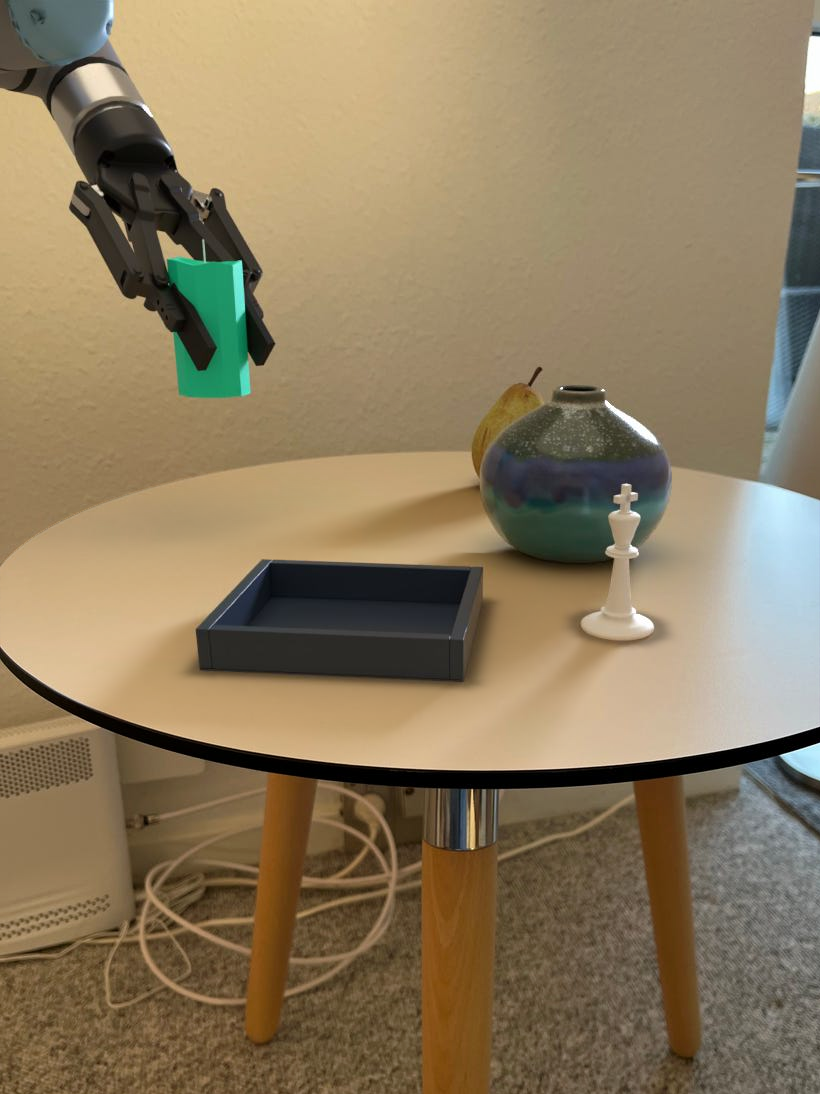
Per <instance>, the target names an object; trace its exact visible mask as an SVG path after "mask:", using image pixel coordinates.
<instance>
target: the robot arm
mask: <svg viewBox="0 0 820 1094" xmlns="http://www.w3.org/2000/svg"><path fill="white" fill-rule="evenodd" d="M114 4H115V3H114V0H0V89H3V90H6V91H8V92H13V93H19V94H23V95H28V96H32V97H36V98H39V99H41V100H42V102H43V104H44V106H45V107H46V109H47V111H48V112H49V114H50V116H51V118H52V120H53V121H54V122H55V124H56V126H57V128H58V130H59V131H60V133H61V135H62V137H63V138H64V141H65V143H66V144H67V146H68V148H69V149H70V151H71V153H72V156H73V157H74V158H75V161H76V164H77V165H78V167H79V169H80V171H81V172H82V174H83V176H84V178H85V179H86V181H84V180H77V181H76V182H75V185H74V188H73V191H72V195H71V198H70V202H69V204H68V205H69V206H68V209H69V211H70V212H71V213H72V214H73V216H75V217H76V219H78V221H79V222H80V223H82V225H83V226H84V227H85V228H86V229H87V232H88V233H89V236H90V237H91V239H92V240H93V242H94V243H93V244H95V246H96V248H97V250H98V252H99V254H100V256H101V257H102V259H103V261H104V263H105V265H106V267H107V269H108V270H109V272H110V274H111V276H112V278H113V279H114V282H115V284H116V285H117V287H118V289H119V291H120V292H121V294H122V295H123V297H125V298H126V299H129V300H134V299H135V300H136V298H137V297H140V298H145V299H144V302H143V307H144V308H145V309H146V310H148V311H149V312H157V314H158V316H159V317H160V319H161V321H162V323H163V324H164V328H166V329H167V330H168V331H169V332H170V333H173V332H177V334H178V336H179V338H180V340H181V341H182V343H183V345H184V347H185V349H186V350H187V352H188V354H189V356H190V358H191V360H192V361H193V363H194V365H195V367H196V369H197V370H198V371H204V370H207V368H208V365H209V363H210V361H211V359H212V357H213V355H214V353H215V351H216V349H217V346H216V344H215V343H214V341H213V339H212V337H211V335H210V334H209V332H208V330H207V328H206V326H205V325H204V323H203V321H202V319H201V317H200V316H199V314H198V312H197V310H196V308H195V307H194V305H193V304H192V303H191V302H190V301H189V300H188V299H187V298H186V297H185V296H184V295H183V294H182V293H181V292H180V291H179V290H178V288H177V286H176V284H175V283H172V285H171V288H170V286H169V281H170V280H169V275H168V269H167V263H166V261H165V257H164V254H163V249H162V245H161V242H160V238H159V235H158V232H162V233H165V234H166V235H167V236H168V237H169V239H170V240H171V241H172V243H174V244H175V245H176V246H179V245H180V246H182V248H183V249H184V250H185V251H186V252H187V253H188V255H189V256H190V257H191V259H192V260H198V261H204V256H203V243H202V239H204V245H205V258H206V262H213V261H214V262H227V261H238V260H242V269H243V285H244V300H245V316H246V331H247V346H248V356H250V358H251V360H252V362H253V363H254V365H255V367H263V366H265V364H266V362H267V360H268V358H269V357H270V355H271V353H272V351H273V350H274V347H275V345H276V342H275V340H274V338H273V336H272V335H271V333H270V331H269V330H268V328H267V326H266V324H265V322H264V320H263V319H264V317H265V314H264V311H263V308H262V307H261V305H260V303H259V301H258V299H257V298H256V296H255V294H254V293H255V291H256V289H257V287H258V285H259V283H260V281H261V279H262V277H263V274H264V272H263V269H262V267H261V266H260V264H259V262H258V260H257V259H256V257H255V255H254V253H253V252H252V249H251V248H250V246H249V244H248V243H247V241H246V240H245V238H244V236H243V235H242V233H241V231H240V229H239V228H238V226H237V224H236V223H235V221H234V219H233V217H232V216H231V214H230V212H229V210H228V209H227V203H226V198H225V197H226V196H225V194H224V192H223V191H222V190H221V189H220V188H216V187H212V188H211V189H210V191H209V194H208V193H204V192H201V191H198V190H195V189H193V187H192V185H191V183H190V182H189V181H188V180H187V179H186V178H185V177H184V176H182V175H181V173H180V172H179V170H178V167H177V163H176V159H175V155H174V152H173V149H172V147H171V145H170V144H169V142H168V140H167V138H166V137H165V135H164V133H163V131H162V130H161V128H160V127H159V125H158V123H157V121H156V119H154V116H153V113H152V112H151V110H150V109H149V107H148V105H147V103H146V102H145V100H144V98H143V96H142V95H141V93H140V92H139V90H138V88H137V87H136V84H135V83H134V81H133V80H132V78H131V77H130V75H129V74H128V72H127V70H126V68H125V67H124V65H123V63H122V62H121V61H122V60H121V59H120V58H119V56H118V54H117V52H116V50H115V48H114V47H113V45H112V43H111V41H110V39H109V37H110V36H111V33H112V32H111V31H112V28H113V26H114V20H115V19H114V17H115V5H114ZM115 215H116V216H117V217H118V218H120V219H121V222H123V225H124V229H125V233H126V234H125V233H124V231H123V230H122V227H121V225H120V224H119V222H118V220H117V218H116V217H115ZM131 245H132V246H131Z"/></svg>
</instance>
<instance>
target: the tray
mask: <svg viewBox="0 0 820 1094" xmlns="http://www.w3.org/2000/svg"><path fill="white" fill-rule="evenodd" d="M483 603H484V567H483V566H468V565H467V566H466V565H465V566H463V565H442V564H441V565H438V564H436V565H435V564H411V563H410V564H409V563H408V564H407V563H384V562H383V563H382V562H378V563H377V562H355V561H354V562H352V561H351V562H350V561H326V560H296V559H268V558H265V559H264V558H262V559H261V560H260V561H259V562H258V563H257V564H256V565H255V566H254V567H253V568H252V569H251V570H250V571H249V572H248V573H247V574H246V576H244V577H243V578H242V580H241V581H240V582H238V584H237V585H236V586H234V588H233V589H232V590H231V591H230V592H229V593H228V594H227V595H226V596H225V597H224V598H223V599H222V600H221V601H220V603H218V605H217V606H216V607H215V608H214V609H213V610H212V611H211V612H210V613H209V614H208V615H207V616H206V617H205V618H204V619H203V621H201V623H200V624H199V625H198V626H197V627H196V628H195V638H196V647H197V648H196V649H197V657H198V668H199V671H205V672H207V671H208V672H211V671H212V672H226V673H227V672H229V673H230V672H232V673H250V674H251V673H252V674H253V673H254V674H272V675H273V674H277V675H298V676H300V675H301V676H320V677H321V676H322V677H324V676H325V677H342V678H343V677H344V678H347V677H348V678H365V679H388V680H389V679H390V680H411V681H430V682H431V681H432V682H435V681H436V682H455V683H463V682H464V681H465V677H466V673H467V669H468V664H469V660H470V656H471V652H472V648H473V644H474V640H475V636H476V632H477V627H478V624H479V619H480V615H481V611H482V607H483Z"/></svg>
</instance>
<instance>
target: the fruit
mask: <svg viewBox="0 0 820 1094" xmlns="http://www.w3.org/2000/svg"><path fill="white" fill-rule="evenodd" d="M542 371H543V367H541V366H537V367H536V369H535V370H534V372H533V374H532V377H531V379H530V380H529V382H528V383H527V384H526V383H523V382H518V383H514V384H512V385H511V386H509V387H508V388H507V389H506V390H505V391H504V392H503V393H502V395H501V396H500V397H499V398H498V399H497V401H496V402H495V403H494V404H493V406H492V407H491V409H489V411H488V412H487V414H485V416H484V417H483V418H482V420H481V421H480V423H479V425H478V426H477V428H476V430H475V432H474V433H475V434H474V436H473V439H472V443H471V461H472V465H473V469H474V471H475V474H476V476H477V478H478V479H479V480H480V467H481V463H482V459H483V456H484V454H485V451H486V449H487V448H488V446H489V444H490V443H491V441H492V440H493V439H494V437H495V436H496V435H497V434H498V433H499V432H500V431H501V430H502V429H503V428H505V427H506V426H507V425H509V424H510V423H512V422H513V421H515V420H516V419H518V418H519V417H521V416H523V415H524V414H526V413H528V412H530V411H531V410H533V409H535V408H537V407H539V406H541V405H543V404H545V403H546V402H545V401H544V399H543V397H542V396H541V394H540V393H539V392H538V391H537V390H536V389H535V388H534V387H532V386H533V384H534V382H535V381H536V380H537V378H538V376H539V375H540V373H541V372H542Z"/></svg>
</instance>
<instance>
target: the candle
mask: <svg viewBox="0 0 820 1094" xmlns="http://www.w3.org/2000/svg"><path fill="white" fill-rule="evenodd" d="M202 243H203V256H204V261H198V260H194V259H193V258H187V257H182V256H176V257H171V258H166V268H167V271H168V275H169V280H170V281H169V283H168V285H169V286H170V288H171V285H172V283H175V284H176V286H177V288H178V290H179V291H180V292H181V293H182V294H183V295H184V296H185V297H186V298H187V299H188V300H189V301H190V302H191V303H192V304H193V305H194V307H195V308H196V310H197V312H198V314H199V316H200V317H201V319H202V321H203V323H204V325H205V326H206V328H207V330H208V332H209V334H210V335H211V337H212V339H213V341H214V343H215V344H216V346H217V349H216V351H215V353H214V355H213V357H212V359H211V361H210V363H209V365H208V368H207V370H204V371H198V370H197V369H196V367H195V365H194V363H193V361H192V360H191V358H190V356H189V354H188V352H187V350H186V349H185V347H184V345H183V343H182V341H181V340H180V338H179V336H178V334H177V332H172V334H173V345H174V354H175V357H174V358H175V367H176V377H177V379H176V380H177V390H178V395H179V396H183V397H187V398H197V399H198V398H199V399H226V398H227V399H228V398H236V397H237V398H238V397H244V396H247V395H251V378H250V377H251V376H250V363H249V353H248V346H247V331H246V316H245V300H244V285H243V269H242V260H238V261H227V262H214V261H213V262H206V258H205V245H204V239H202Z"/></svg>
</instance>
